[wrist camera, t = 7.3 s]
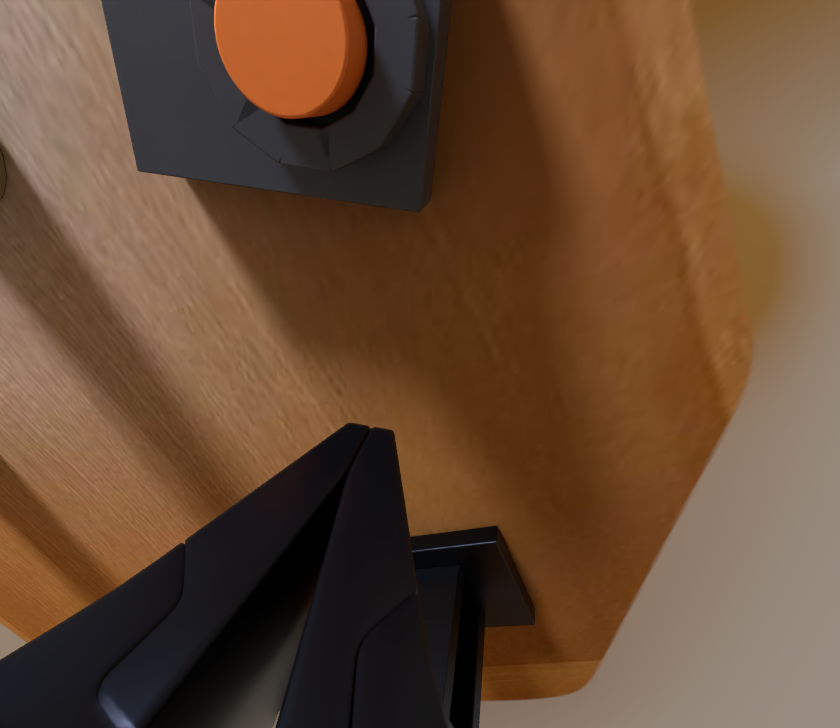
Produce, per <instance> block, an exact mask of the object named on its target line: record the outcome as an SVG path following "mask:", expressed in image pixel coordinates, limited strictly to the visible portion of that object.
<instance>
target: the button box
mask: <svg viewBox="0 0 840 728" xmlns="http://www.w3.org/2000/svg"><path fill="white" fill-rule="evenodd" d="M101 1H102V6H103V11H104V15H105V20H106V25H107V29H108V34H109V39H110V43H111V48H112V53H113V57H114V62H115V67H116V71H117V76H118V80H119V85H120V90H121V94H122V99H123V104H124V108H125V113H126V118H127V122H128V127H129V132H130V136H131V141H132V146H133V150H134V155H135V160H136V164H137V169H138V171H140V172H147V173H154V174H161V175H168V176H174V177H181V178H188V179H195V180H202V181H209V182H216V183H222V184H229V185H236V186H243V187H250V188H257V189H264V190H270V191H277V192H284V193H291V194H298V195H305V196H312V197H318V198H325V199H332V200H339V201H346V202H353V203H359V204H366V205H373V206H380V207H387V208H394V209H401V210H407V211H414V212H421V211H422V209H423V208H424V207H425V206H426V205H427V203H428V202H429V201H430V199H431V190H432V180H433V171H434V161H435V152H436V143H437V133H438V124H439V115H440V105H441V96H442V86H443V77H444V68H445V58H446V49H447V40H448V30H449V21H450V11H451V2H452V0H356V2H357V4H358V6H359V9H360V11H361V14H362V17H363V20H364V25H365V29H366V36H367V60H366V66H365V71H364V74H363V77H362V80H361V82H360V84H359V87H358V89H357V90H356V92H355V93H354V95H353V96H352V97H351V99H350V100H349V101H348V102H347V103H346V104H345V105H344V106H343V107H341V108H340V109H338V110H337V111H335V112H333V113H330V114H328V115H324V116H317V117H308V118H298V119H285V118H280V117H276V116H274V115H271V114H268V113H267V112H265V111H263V110H261V109H260V108H258V107H257V106H255V105H254V104H253V103H252V102H250V101H249V100H248V99H247V98H246V97H245V96H244V95H243V94H242V93H241V91H240V90H239V89H238V88H237V86H236V85H235V84H234V82H233V81H232V79H231V77H230V76H229V74H228V72H227V70H226V68H225V66H224V64H223V61H222V58H221V56H220V53H219V49H218V45H217V41H216V35H215V27H214V8H215V1H216V0H101Z"/></svg>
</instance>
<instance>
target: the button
mask: <svg viewBox="0 0 840 728" xmlns="http://www.w3.org/2000/svg"><path fill="white" fill-rule="evenodd" d="M214 27H215V35H216V41H217V45H218V49H219V53H220V56H221V58H222V61H223V64H224V66H225V68H226V70H227V72H228V74H229V76H230V77H231V79H232V81H233V82H234V84H235V85H236V86H237V88H238V89H239V90H240V91H241V93H242V94H243V95H244V96H245V97H246V98H247V99H248V100H249V101H250V102H252V103H253V104H254V105H255V106H257V107H258V108H260V109H261V110H263V111H265V112H267V113H268V114H271V115H274V116H276V117H280V118H285V119H298V118H308V117H317V116H324V115H328V114H330V113H333V112H335V111H337V110H338V109H340V108H341V107H343V106H344V105H345V104H346V103H347V102H348V101H349V100H350V99H351V97H352V96H353V95H354V93H355V92H356V90H357V89H358V87H359V84H360V82H361V80H362V77H363V74H364V71H365V66H366V60H367V36H366V29H365V25H364V20H363V17H362V14H361V11H360V9H359V6H358V4H357V2H356V0H216V1H215V8H214Z"/></svg>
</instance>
